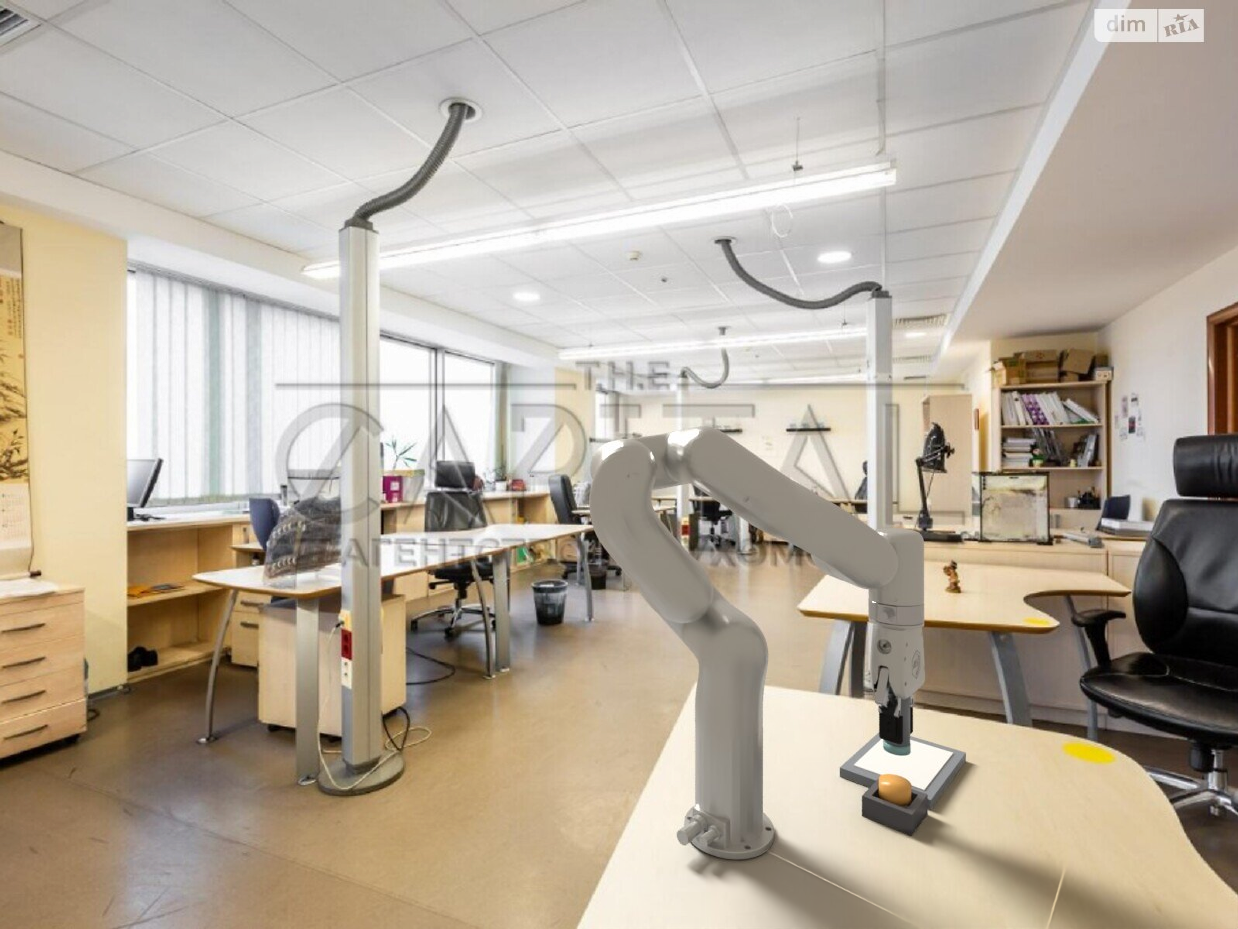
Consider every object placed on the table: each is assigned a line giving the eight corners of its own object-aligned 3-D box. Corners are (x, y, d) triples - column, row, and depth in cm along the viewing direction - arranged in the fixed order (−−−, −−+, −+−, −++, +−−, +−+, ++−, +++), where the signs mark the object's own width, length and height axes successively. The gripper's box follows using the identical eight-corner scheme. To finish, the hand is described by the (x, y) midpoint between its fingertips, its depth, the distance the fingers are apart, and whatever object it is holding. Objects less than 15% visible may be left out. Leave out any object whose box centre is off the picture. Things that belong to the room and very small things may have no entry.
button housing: (911, 836, 85) (912, 815, 85) (861, 815, 89) (862, 795, 89) (927, 814, 90) (927, 794, 90) (879, 796, 95) (879, 777, 95)
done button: (905, 810, 86) (905, 793, 86) (874, 798, 90) (874, 782, 89) (915, 797, 90) (915, 781, 90) (884, 786, 93) (885, 770, 93)
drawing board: (930, 810, 91) (930, 798, 91) (839, 776, 100) (839, 765, 100) (965, 761, 105) (965, 750, 105) (883, 735, 115) (883, 726, 115)
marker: (905, 758, 87) (905, 682, 87) (878, 750, 89) (878, 676, 89) (914, 749, 90) (914, 675, 89) (888, 741, 92) (887, 669, 92)
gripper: (903, 629, 81) (903, 766, 81) (940, 606, 93) (940, 725, 93) (847, 619, 86) (848, 747, 86) (889, 598, 98) (889, 711, 98)
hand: (896, 734), depth 89 cm, fingers closed on marker, 3 cm apart
